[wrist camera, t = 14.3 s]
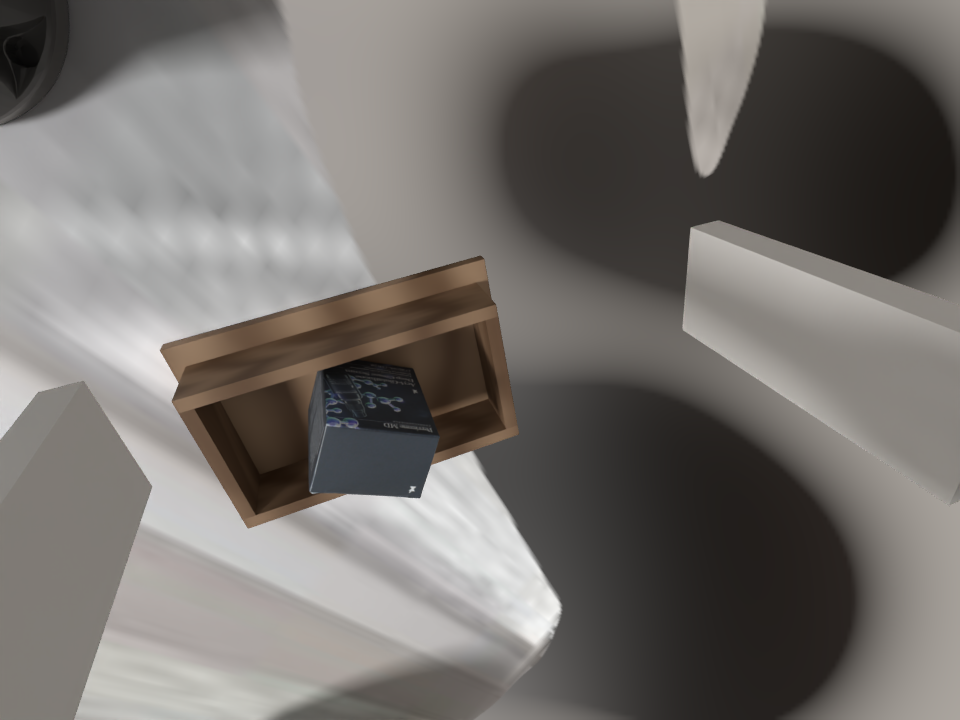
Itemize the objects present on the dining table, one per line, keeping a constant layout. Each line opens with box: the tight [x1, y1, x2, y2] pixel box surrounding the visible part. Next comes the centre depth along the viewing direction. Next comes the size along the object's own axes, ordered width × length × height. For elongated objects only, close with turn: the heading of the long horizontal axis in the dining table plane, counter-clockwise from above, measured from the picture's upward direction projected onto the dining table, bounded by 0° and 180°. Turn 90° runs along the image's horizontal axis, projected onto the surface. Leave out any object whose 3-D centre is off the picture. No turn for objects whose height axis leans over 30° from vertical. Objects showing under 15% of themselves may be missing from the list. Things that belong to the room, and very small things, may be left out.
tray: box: [160, 256, 519, 528], centre depth 42 cm, size 25×16×6 cm, turn 101°
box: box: [308, 360, 440, 498], centre depth 39 cm, size 8×6×11 cm
